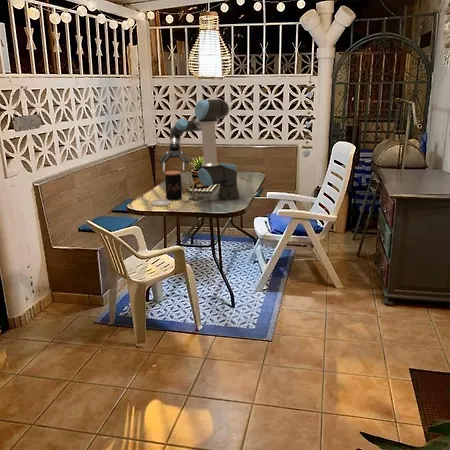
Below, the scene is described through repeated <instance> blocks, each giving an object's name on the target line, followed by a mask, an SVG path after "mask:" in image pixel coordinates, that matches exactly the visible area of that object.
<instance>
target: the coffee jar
mask: <svg viewBox="0 0 450 450" xmlns="http://www.w3.org/2000/svg"><path fill="white" fill-rule="evenodd" d="M164 174H165V177H164V178H165V179H164V180H165V181H164V182H165V196H166V200H170V201H180V200H181V199H182V197H183V194H182V193H183V188H182V175H181V174H182V172H181V171H179V170H169V171H165V172H164Z"/></svg>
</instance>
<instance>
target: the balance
mask: <svg viewBox="0 0 450 450" xmlns="http://www.w3.org/2000/svg"><path fill="white" fill-rule="evenodd" d="M197 183H200V180H199V179H198V180H197V179H196V181H193V182H191V183H189V184H187V185H184V186H183V188H182V195H190V194H191V193H192V194H191V197H188V198H187V199H188V200H189V201H192V202H195V201H199V198H198V197H195V187H197V188H203V187H204V186H205V185H203V184H197ZM195 184H196V185H195ZM189 187H191V192H190V188H189Z"/></svg>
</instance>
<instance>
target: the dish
mask: <svg viewBox="0 0 450 450" xmlns="http://www.w3.org/2000/svg"><path fill="white" fill-rule="evenodd" d="M171 202H172V200H168V199H167V198H166V199H165V198H164V199H163V198H159V199H153V200H151V201H150V203H149V204H150V206H152V207H160V208H161V207H167V206H170V205H171V204H172V203H171Z"/></svg>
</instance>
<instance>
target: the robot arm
mask: <svg viewBox="0 0 450 450" xmlns="http://www.w3.org/2000/svg"><path fill="white" fill-rule="evenodd" d="M229 112H230V106H229V104H228V103H227V101H225V100H223V99H220V98H218V99H217V98H215V99H202V100H199V101H197V102H196V105H195V108H194V115H195V118H196V119H194V120H187V119H185V118H184V117H183V118H179V119H178V120H177V121H176V122H175V124H174V125H173V126H172V127H170V130H169V149H168V150H169V151H167V150H164V153H163V154H162V157H160V159H159V161H158V162H159V164H161V168H162V172H163V173H165V172H166V170H165V169H166V163H167V162H168V161H169V160H170V159H171V158H172V159H174V158H175V159H176V158H178V159H179V160H180V161H181V162H182V172H183V173H185V168H187V164H189V163H190V160H189V159H188V157H187V155H186V153H185V150H182V151H181V137H182V135H183V134H184V133H186V132H189V133H190V132H201V135H202V137H201V138H202V140H201V141H202V157H203V162H202V164H201V165H200V166H201V168H199V169H198V172H197V176H198V180H200V181H199V183H200V184H201V185H204V186H206V187H211V186H217V185H219V188H218V192H217V193H216V194H217V199H219V200H223V201H234V200H238V199H240V197H241V196H240V192H239V189H238V168H237V165H236V164H235V163H234V164H233V163H227V162H220V163H218V158H217V156H218V155H217V137H216V136H217V135H216V123H217V122H218V120H222V119H224V118H226V117H227V116H228V114H229ZM181 155H182V156H181Z"/></svg>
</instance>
